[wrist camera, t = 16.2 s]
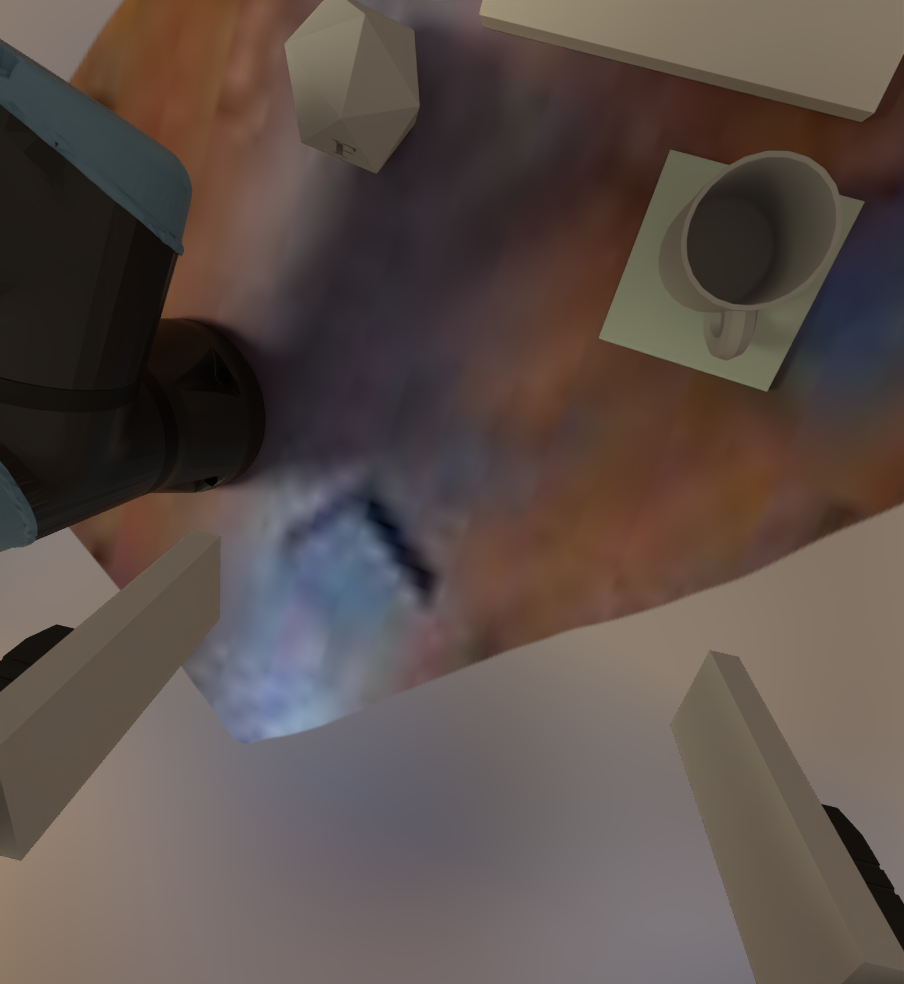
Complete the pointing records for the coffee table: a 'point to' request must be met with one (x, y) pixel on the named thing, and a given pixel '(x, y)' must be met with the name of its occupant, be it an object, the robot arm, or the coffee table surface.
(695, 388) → the coffee table surface
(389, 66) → the die
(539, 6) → the beige flat frame
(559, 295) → the coffee table surface
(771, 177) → the cup
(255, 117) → the coffee table surface
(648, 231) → the coaster
